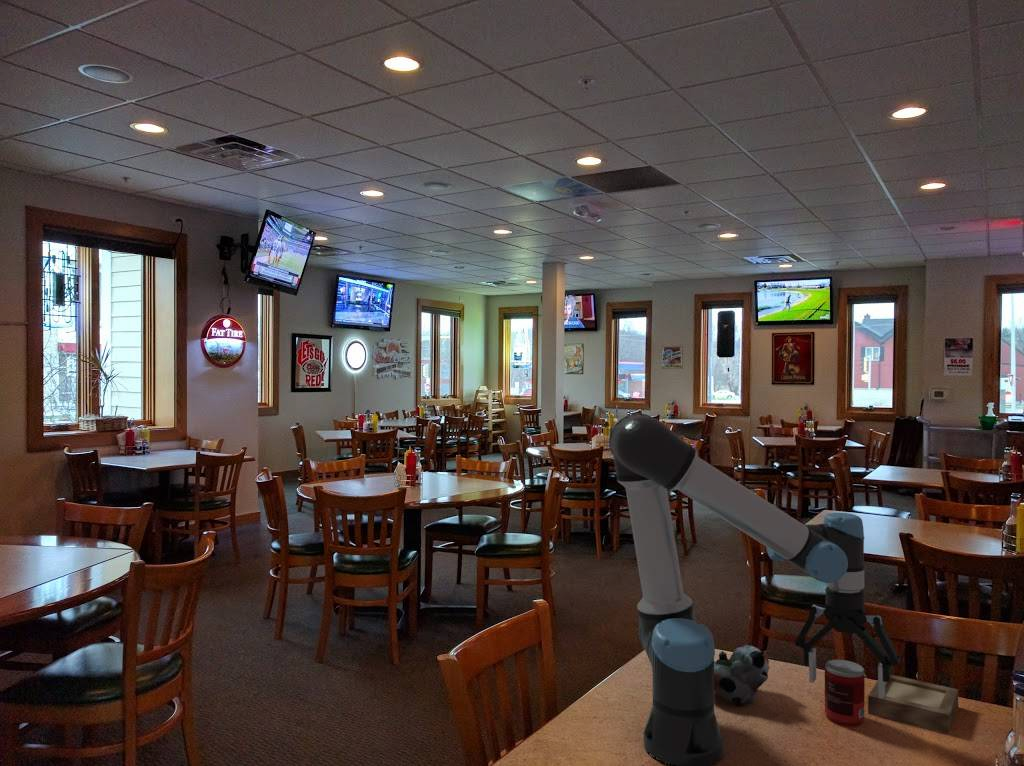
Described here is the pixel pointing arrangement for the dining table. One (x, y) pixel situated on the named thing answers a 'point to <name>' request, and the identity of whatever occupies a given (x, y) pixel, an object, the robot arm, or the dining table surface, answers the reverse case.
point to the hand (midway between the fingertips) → (846, 688)
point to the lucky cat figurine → (741, 674)
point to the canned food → (844, 692)
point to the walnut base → (915, 703)
